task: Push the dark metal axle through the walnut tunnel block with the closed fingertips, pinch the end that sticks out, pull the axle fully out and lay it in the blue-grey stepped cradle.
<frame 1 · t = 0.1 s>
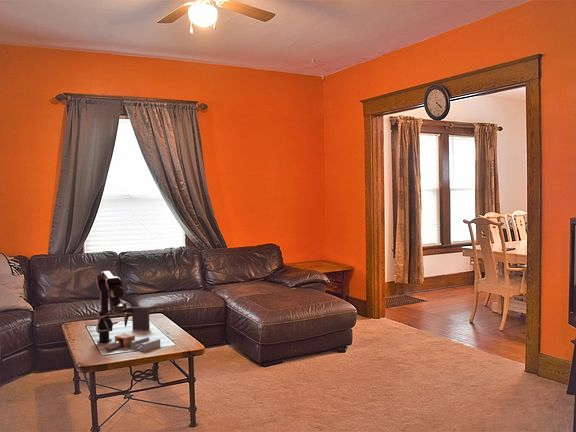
hand: (117, 327, 295), 15 cm above the table, tool pointing down, fingers open, 9 cm apart
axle: (118, 348, 311), on the table
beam: (125, 345, 315), on the table
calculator: (141, 330, 353), on the table
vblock: (145, 347, 310), on the table
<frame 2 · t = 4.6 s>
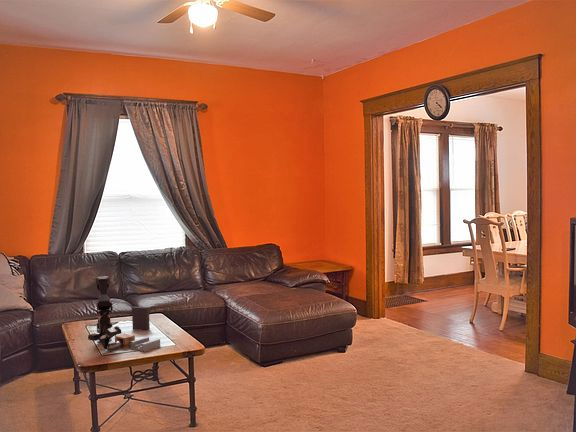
hand: (105, 349, 303), 1 cm above the table, tool pointing down, fingers closed
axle: (119, 347, 311), on the table, tilted 12°, touching gripper
everything else where it was.
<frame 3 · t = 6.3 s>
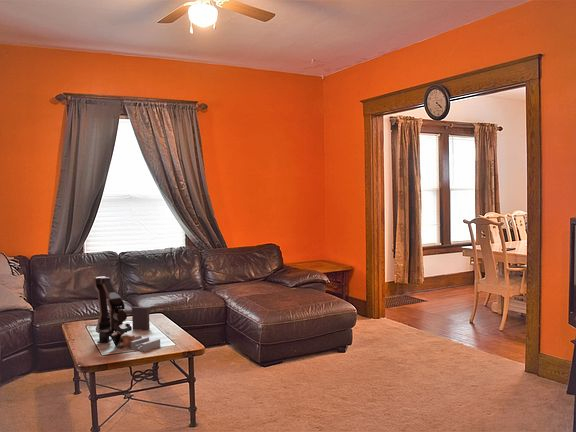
hand: (116, 345, 309), 2 cm above the table, tool pointing down, fingers closed
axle: (129, 345, 317), on the table, tilted 14°, touching gripper
everything else where it was.
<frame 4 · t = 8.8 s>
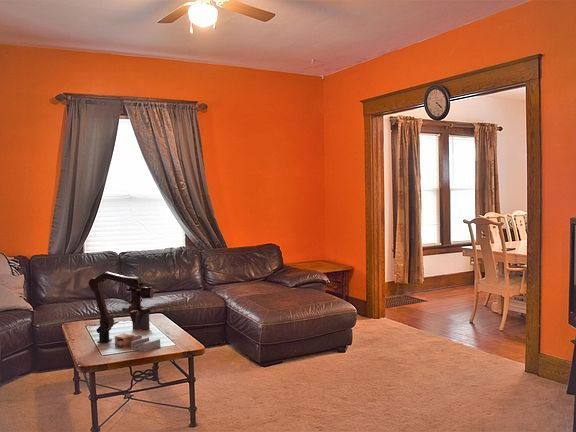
hand: (136, 324, 322), 11 cm above the table, tool pointing down, fingers open, 4 cm apart
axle: (129, 344, 318), on the table
everything else where it was.
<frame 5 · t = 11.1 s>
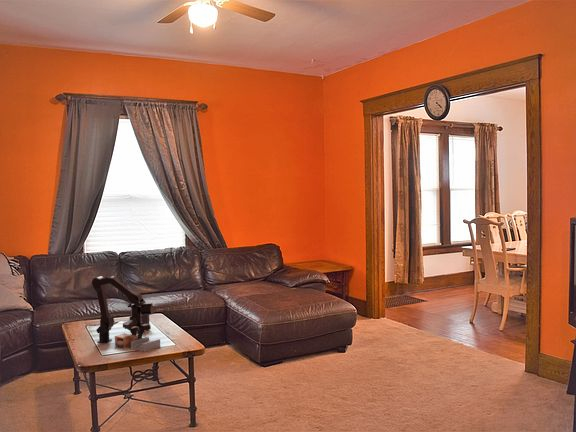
hand: (137, 340, 322), 1 cm above the table, tool pointing down, fingers closed on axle, 4 cm apart
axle: (129, 344, 318), on the table, touching gripper
everything else where it was.
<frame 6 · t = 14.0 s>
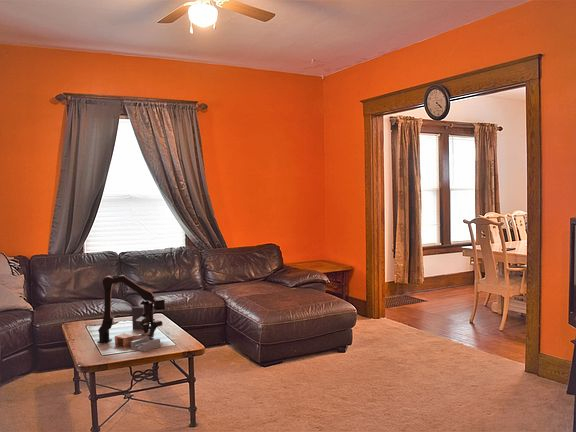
hand: (149, 336, 330), 1 cm above the table, tool pointing down, fingers closed on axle, 4 cm apart
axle: (141, 340, 326), on the table, touching gripper
everything else where it was.
when the fingers open (5 cm above the table, at t = 17.3 s): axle drops 2 cm, resting on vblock.
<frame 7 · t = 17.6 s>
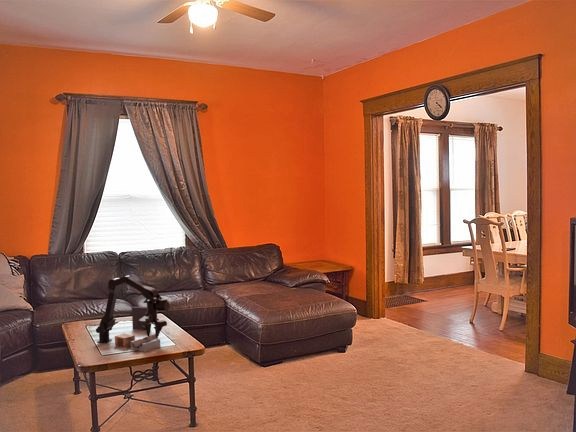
hand: (152, 336, 315), 5 cm above the table, tool pointing down, fingers open, 7 cm apart
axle: (145, 344, 310), point 2 cm above the table, tilted 6°, touching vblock
everything else where it was.
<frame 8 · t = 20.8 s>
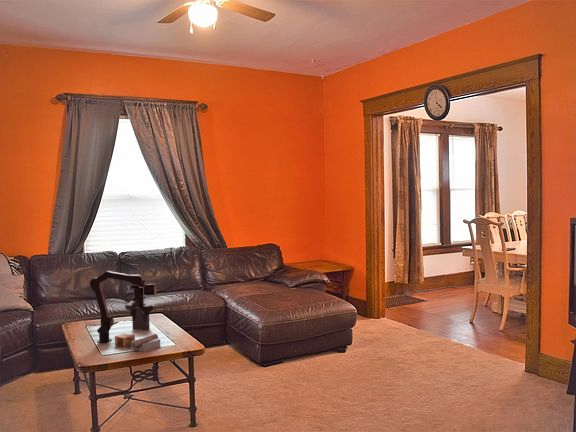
hand: (139, 321, 325), 12 cm above the table, tool pointing down, fingers open, 9 cm apart
nothing on the table moved.
at the end: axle inside the target area on the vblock (0.2 cm from its centre), point 2.0 cm above the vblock's base; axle touching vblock; the gripper is holding nothing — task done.
